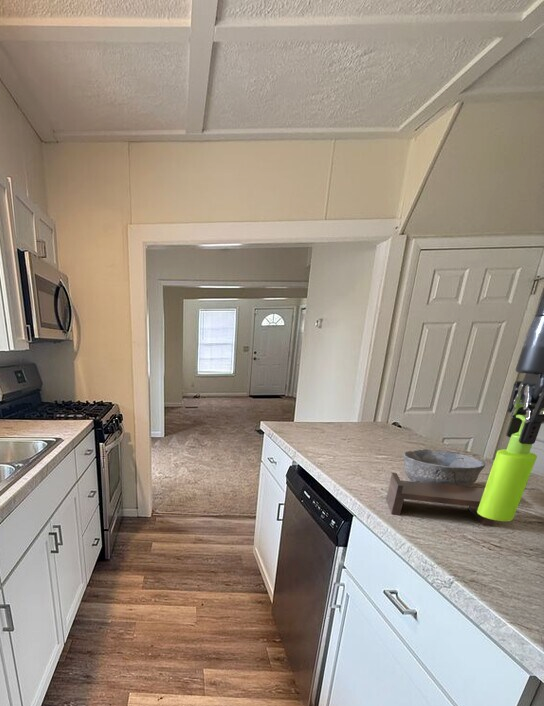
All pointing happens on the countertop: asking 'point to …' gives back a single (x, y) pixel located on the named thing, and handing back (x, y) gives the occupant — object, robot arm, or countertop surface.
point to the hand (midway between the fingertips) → (519, 439)
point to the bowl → (442, 467)
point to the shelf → (434, 496)
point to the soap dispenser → (507, 479)
